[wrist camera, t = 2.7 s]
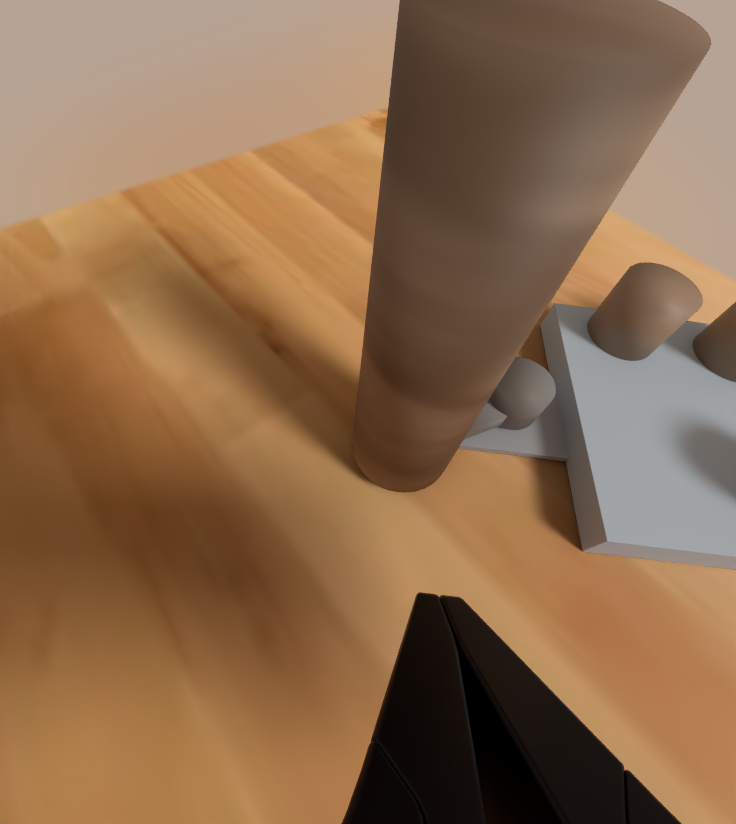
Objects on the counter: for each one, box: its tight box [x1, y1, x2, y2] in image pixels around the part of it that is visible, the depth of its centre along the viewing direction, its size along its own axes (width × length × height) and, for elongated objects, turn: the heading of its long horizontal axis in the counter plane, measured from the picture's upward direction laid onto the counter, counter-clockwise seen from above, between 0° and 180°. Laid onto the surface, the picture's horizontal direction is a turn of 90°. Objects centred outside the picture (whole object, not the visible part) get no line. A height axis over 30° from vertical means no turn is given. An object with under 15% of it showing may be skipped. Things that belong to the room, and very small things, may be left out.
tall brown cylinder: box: [352, 0, 711, 492], centre depth 11 cm, size 9×4×13 cm, turn 114°
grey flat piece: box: [459, 263, 736, 570], centre depth 17 cm, size 15×17×5 cm
